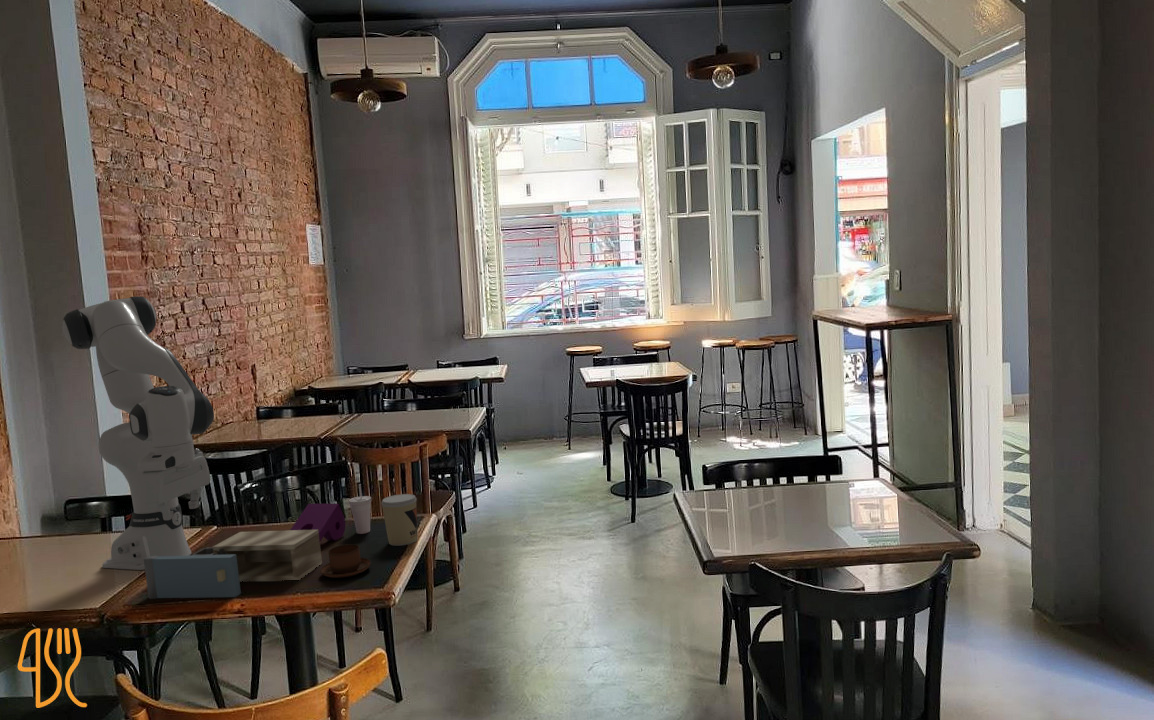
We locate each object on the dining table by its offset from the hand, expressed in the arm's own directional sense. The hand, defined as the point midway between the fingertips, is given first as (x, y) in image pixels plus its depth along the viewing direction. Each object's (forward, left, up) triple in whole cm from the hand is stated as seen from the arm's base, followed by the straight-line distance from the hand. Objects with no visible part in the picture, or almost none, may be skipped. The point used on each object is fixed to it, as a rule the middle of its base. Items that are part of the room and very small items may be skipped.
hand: (181, 513), depth 200 cm
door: (0, 0, -20) cm, 20 cm away
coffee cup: (+37, +38, -20) cm, 57 cm away
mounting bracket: (+11, +37, -21) cm, 44 cm away
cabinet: (+10, +13, -20) cm, 26 cm away
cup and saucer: (+32, +14, -20) cm, 41 cm away
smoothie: (+21, +48, -20) cm, 56 cm away
